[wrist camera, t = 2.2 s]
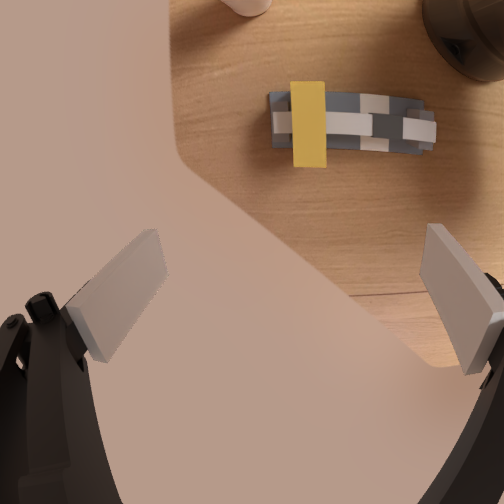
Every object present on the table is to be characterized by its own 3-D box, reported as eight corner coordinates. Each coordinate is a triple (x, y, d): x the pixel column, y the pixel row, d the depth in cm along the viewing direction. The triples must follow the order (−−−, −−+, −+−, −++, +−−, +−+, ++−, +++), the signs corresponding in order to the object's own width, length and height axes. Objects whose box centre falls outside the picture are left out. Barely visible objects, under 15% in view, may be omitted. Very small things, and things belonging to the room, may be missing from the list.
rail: (270, 92, 33) (261, 89, 26) (421, 100, 29) (445, 101, 23) (273, 147, 36) (265, 156, 30) (420, 154, 32) (442, 166, 26)
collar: (294, 86, 30) (290, 81, 23) (320, 86, 30) (324, 81, 23) (296, 153, 34) (293, 166, 27) (322, 153, 33) (326, 167, 26)
